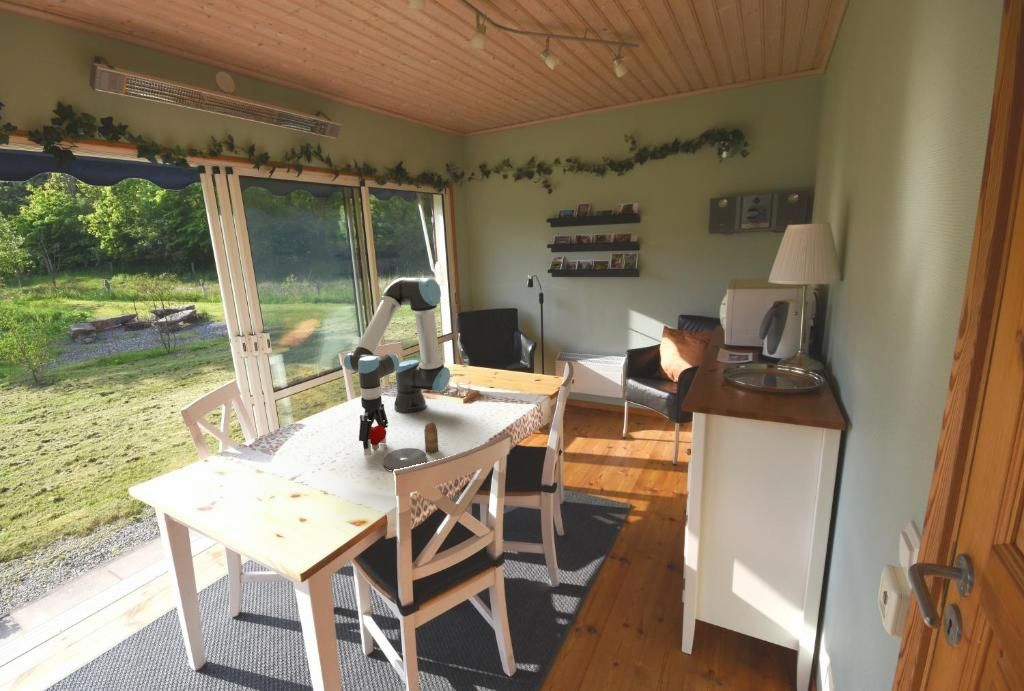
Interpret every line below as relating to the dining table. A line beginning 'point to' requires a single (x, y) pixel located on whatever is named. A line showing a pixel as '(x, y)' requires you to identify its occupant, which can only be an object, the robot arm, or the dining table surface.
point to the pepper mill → (431, 438)
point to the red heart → (377, 436)
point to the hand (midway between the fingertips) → (375, 449)
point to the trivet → (404, 458)
